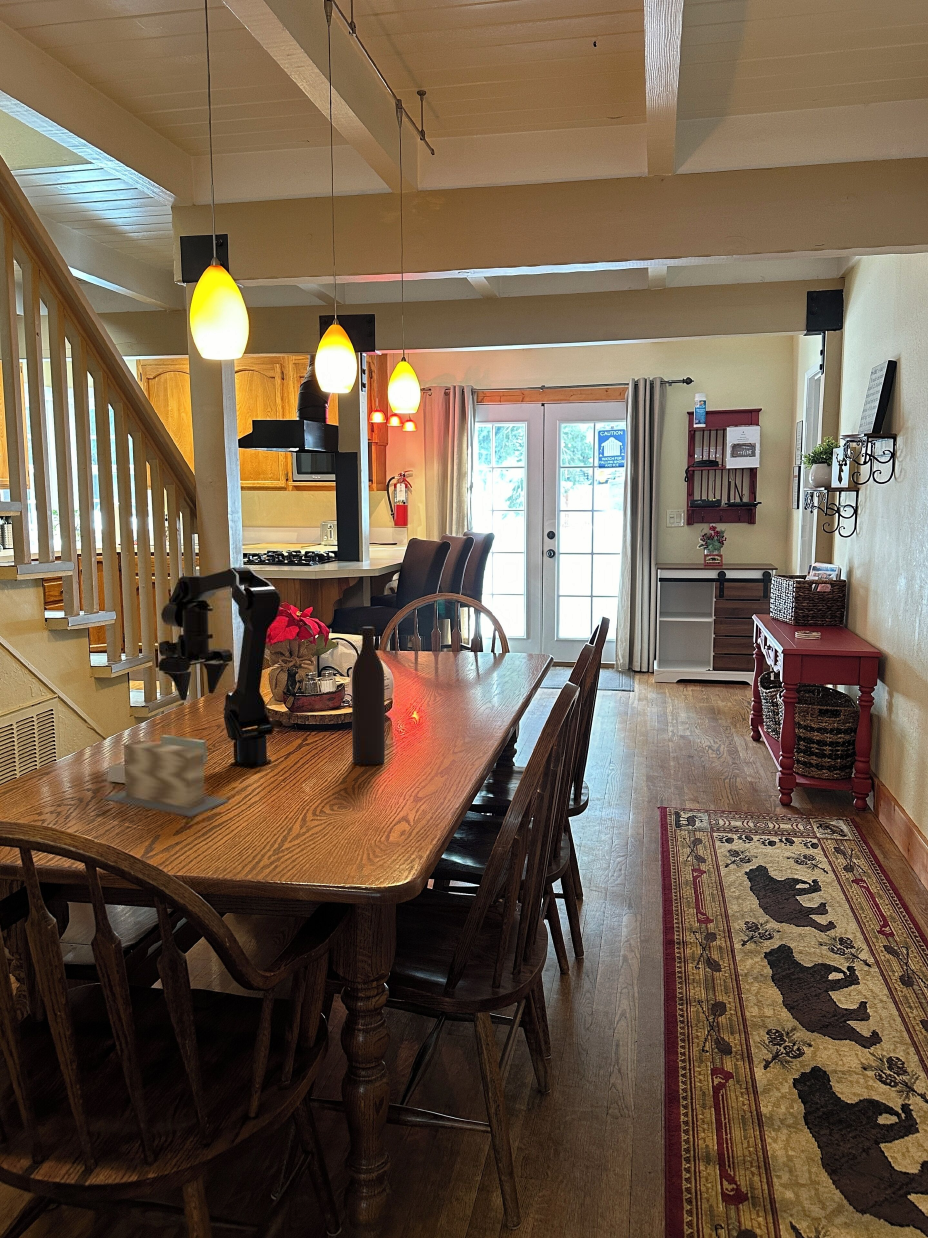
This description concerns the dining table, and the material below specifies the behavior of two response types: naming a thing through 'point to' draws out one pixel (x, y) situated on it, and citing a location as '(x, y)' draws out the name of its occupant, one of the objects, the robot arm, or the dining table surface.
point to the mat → (185, 811)
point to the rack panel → (186, 743)
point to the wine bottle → (368, 704)
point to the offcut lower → (116, 773)
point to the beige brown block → (164, 773)
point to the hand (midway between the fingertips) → (197, 696)
